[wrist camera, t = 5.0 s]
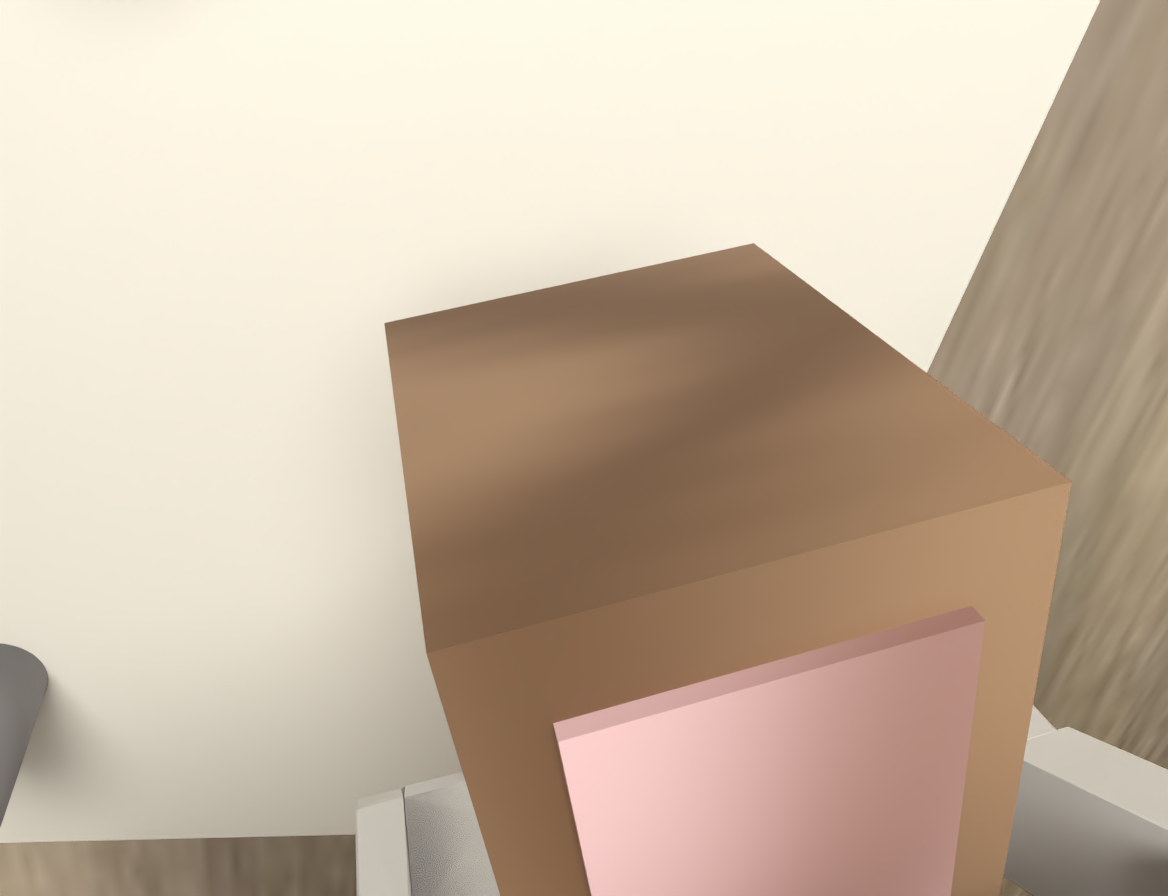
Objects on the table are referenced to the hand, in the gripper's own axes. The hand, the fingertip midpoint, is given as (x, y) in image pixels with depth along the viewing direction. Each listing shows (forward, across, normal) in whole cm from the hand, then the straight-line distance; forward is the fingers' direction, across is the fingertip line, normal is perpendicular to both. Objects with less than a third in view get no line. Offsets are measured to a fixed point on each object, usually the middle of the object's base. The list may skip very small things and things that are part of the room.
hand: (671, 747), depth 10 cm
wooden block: (+2, 0, 0) cm, 2 cm away
